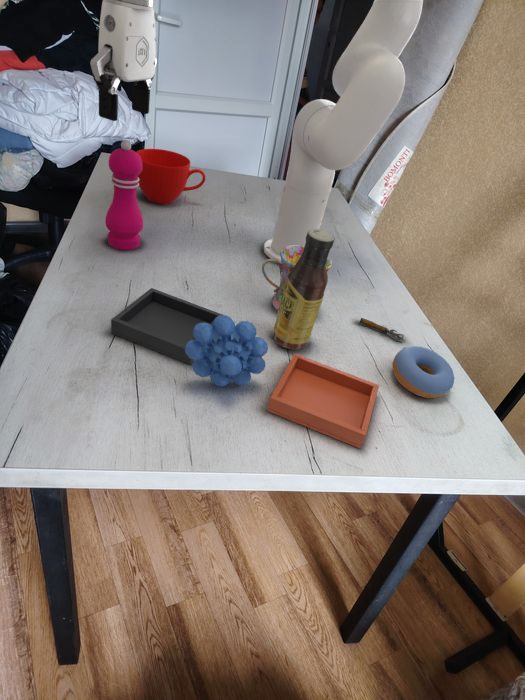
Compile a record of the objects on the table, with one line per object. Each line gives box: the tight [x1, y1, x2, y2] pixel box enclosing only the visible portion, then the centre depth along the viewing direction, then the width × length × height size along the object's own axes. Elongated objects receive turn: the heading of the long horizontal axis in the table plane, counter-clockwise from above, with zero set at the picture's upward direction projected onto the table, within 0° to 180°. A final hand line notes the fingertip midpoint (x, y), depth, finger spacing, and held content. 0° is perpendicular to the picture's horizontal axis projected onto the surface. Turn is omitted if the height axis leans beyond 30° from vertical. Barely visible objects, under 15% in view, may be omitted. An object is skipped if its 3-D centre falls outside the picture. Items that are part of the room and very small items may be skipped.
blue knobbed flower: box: [185, 314, 269, 388], centre depth 65 cm, size 12×7×12 cm, turn 102°
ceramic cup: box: [135, 148, 206, 205], centre depth 116 cm, size 13×17×10 cm
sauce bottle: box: [272, 228, 336, 351], centre depth 75 cm, size 6×6×20 cm
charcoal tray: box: [110, 287, 224, 365], centre depth 76 cm, size 12×14×3 cm
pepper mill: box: [104, 139, 144, 251], centre depth 91 cm, size 7×7×20 cm
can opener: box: [359, 317, 406, 342], centre depth 88 cm, size 9×2×1 cm, turn 60°
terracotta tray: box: [266, 353, 380, 449], centre depth 69 cm, size 12×14×3 cm
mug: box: [261, 245, 333, 312], centre depth 86 cm, size 12×9×11 cm
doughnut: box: [392, 345, 455, 399], centre depth 77 cm, size 10×10×5 cm
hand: (124, 115), depth 82 cm, fingers open, 9 cm apart
